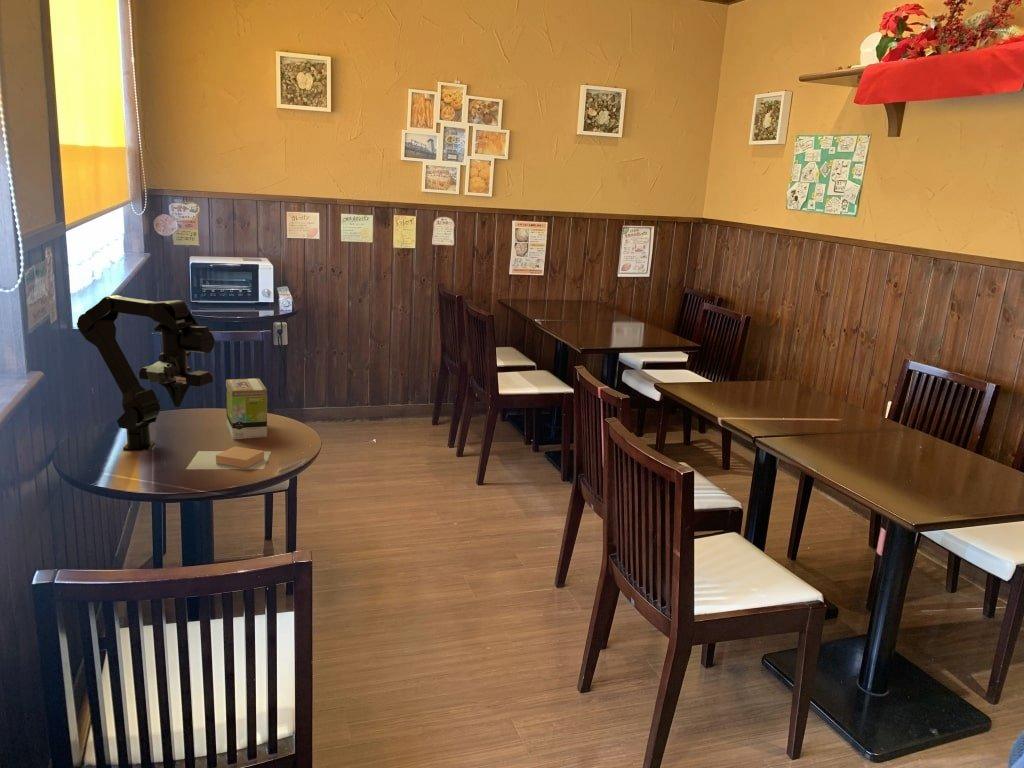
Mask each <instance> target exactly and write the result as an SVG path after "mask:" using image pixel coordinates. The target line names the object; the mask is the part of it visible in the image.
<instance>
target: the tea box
mask: <svg viewBox="0 0 1024 768" xmlns="http://www.w3.org/2000/svg"><path fill="white" fill-rule="evenodd" d="M225 396H226V397H225V398H226V399H225V400H226V401H225V403H226V404H225V405H226V407H225V409H226V427H227V429H228V431H229V433H230V437H231V439H232V440H242V439H243V440H244V439H252V438H263V437H265V438H267V436H268V389H267V388H266V386H265V385H264V383H263V382H262V380H261V379H260V378H256V377H255V378H237V379H236V378H234V379H233V378H232V379H230V378H229V379H225Z"/></svg>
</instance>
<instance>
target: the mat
mask: <svg viewBox="0 0 1024 768" xmlns="http://www.w3.org/2000/svg"><path fill="white" fill-rule="evenodd" d="M224 451H225V450H223V451H222V450H220V451H219V450H218V451H217V450H215V451H214V450H213V451H212V450H210V451H209V450H201V451H199V450H198V451H197V453H196V454H195V455H194V457H193V458H192V460H191V461H190V463H189V464H188V466H187V467H186V468H185V470H244V469H243V468H237V467H231V466H225V465H219V464H216V455H218V454H220V453H222V452H224ZM263 451H264V460H262V461H261V462H259V463H257V464H255V465H253V466H251V467H249V468H247V469H246V470H265V467H266V465H267V462H268V460H269V458H270V456H271V452H272V451H270V450H268V451H267V450H263Z"/></svg>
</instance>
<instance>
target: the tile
mask: <svg viewBox="0 0 1024 768" xmlns="http://www.w3.org/2000/svg"><path fill="white" fill-rule="evenodd" d="M223 451H224V452H222V453H220V454H218V455H216V464H219V465H225V466H231V467H237V468H243V469H242V470H248V469H247V468H249V467H251V466H253V465H255V464H257V463H259V462H261V461H262V460H264V451H265V450H260V449H254V448H248V447H241V446H232V447H231V448H229V449H228V448H227V449H226V450H223Z"/></svg>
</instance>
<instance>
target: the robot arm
mask: <svg viewBox="0 0 1024 768" xmlns="http://www.w3.org/2000/svg"><path fill="white" fill-rule="evenodd" d="M120 314H128V315H133V316H139V317H146V318H148V319H149V318H150V319H151V320H152V321H153V322H156V323H159V324H158V325H157V326H155V327H154V328H153V331H154V332H159V333H160V332H161V342H162V347H161V348H162V352H161V353H159V354H158V355H159V356H158V361H156V362H155V363H153V364H150V365H147V366H143V367H141V368H140V369H139V371H138V378H139V379H138V378H137V376H136V374H135V373H134V370H133V369H132V367H131V365H130V363H129V361H128V359H127V358H126V356H125V354H124V352H123V351H122V349H121V346H120V345H119V343H118V341H117V337H116V335H117V327H116V325H115V322H116V321H117V320H118V319H119V318H120ZM76 326H77V327H76V328H77V329H78V330H79V332H80V334H81V335H82V336H83V338H84V339H85V340H86V341H87V342H89V343H90V344H92V345H93V346H95V347H96V348H97V351H98V352H99V353H100V355H101V357H102V359H103V361H104V363H105V364H106V366H107V368H108V370H109V373H111V376H112V377H113V379H114V381H115V383H116V384H117V387H118V388H119V390H120V391H121V395H122V401H121V402H122V403H121V407H122V408H123V411H124V413H122V414H121V416H119V417H118V419H117V420H116V422H117V425H118V427H119V428H120V429H124V430H126V444H125V445H124V446H123V447H122V450H123V451H125V450H126V451H127V450H129V451H135V450H137V451H147V450H150V449H151V447H153V445H154V444H155V440H151V431H150V429H151V428H150V427H151V426H150V424H153V423H156V422H157V418H158V416H159V414H160V410H161V404H160V402H161V401H160V400H159V399H158V398H157V395H156V393H155V390H153V389H152V388H150V389H146V388H144V387H143V386H142V385H141V383H140V382H139V380H145V381H146V380H149V382H150V383H151V382H152V383H153V382H154V383H155V382H156V383H157V384H159V385H161V386H163V387H164V388H165V389H166V390H167V392H168V395H169V396H170V399H171V401H172V404H173V406H174V408H179V407H181V405H182V403H183V400H184V397H185V395H186V394H187V392H188V390H189V388H190V387H191V386H193V387H202V386H205V385H207V384H211V383H213V380H214V378H213V376H214V375H213V373H211V372H210V371H206V370H195V371H193V372H191V371H192V370H191V369H192V368H191V367H190V366H188V358H187V357H190V356H191V352H194V353H201V354H209V353H211V352H212V351H213V349H214V347H215V344H216V342H215V338H214V334H213V333H212V332H211V331H210V330H209V329H210V328H209V326H204V325H203V326H199V324H198V322H197V320H196V319H195V317H194V316H193V314H192V313H191V311H190V310H189V307H188V305H187V304H186V302H185V301H183V300H181V299H176V300H174V299H173V300H163V301H153V300H146V299H138V298H133V297H126V296H121V295H119V294H118V295H116V294H115V295H109V296H104V297H103V298H102V299H100V300H99V301H98V302H97V303H96V304H94V306H92V307H90V308H89V309H88V310H86V311H85V313H83V314H80V315H79V317H78V319H77V322H76Z"/></svg>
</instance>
